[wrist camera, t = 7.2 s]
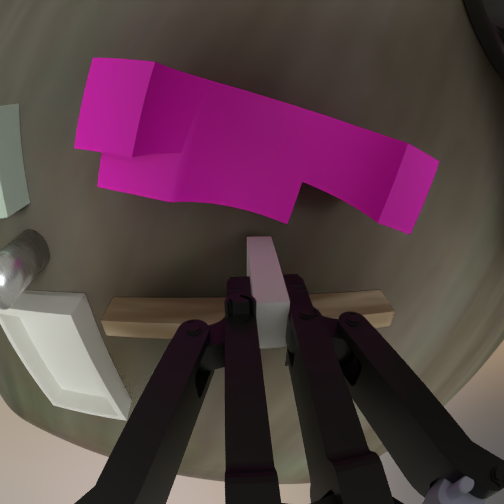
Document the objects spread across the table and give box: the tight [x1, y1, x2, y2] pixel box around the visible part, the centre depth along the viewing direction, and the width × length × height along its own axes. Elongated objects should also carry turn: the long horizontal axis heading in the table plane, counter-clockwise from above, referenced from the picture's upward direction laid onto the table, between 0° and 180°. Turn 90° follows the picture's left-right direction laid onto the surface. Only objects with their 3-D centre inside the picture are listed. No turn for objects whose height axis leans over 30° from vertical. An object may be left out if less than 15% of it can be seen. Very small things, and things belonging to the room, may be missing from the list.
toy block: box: [74, 58, 440, 234], centre depth 14 cm, size 15×6×8 cm, turn 74°
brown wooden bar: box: [101, 290, 395, 339], centre depth 21 cm, size 2×22×3 cm, turn 90°
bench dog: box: [0, 230, 50, 310], centre depth 16 cm, size 4×4×6 cm
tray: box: [0, 290, 132, 421], centre depth 23 cm, size 16×11×3 cm
